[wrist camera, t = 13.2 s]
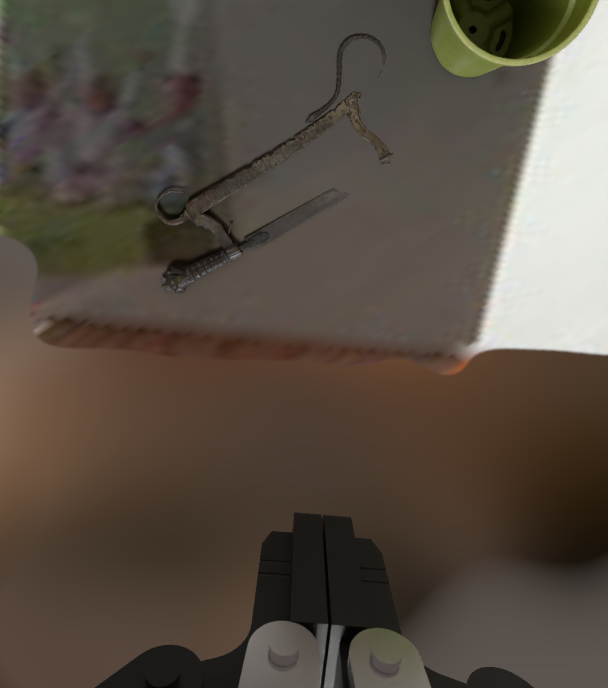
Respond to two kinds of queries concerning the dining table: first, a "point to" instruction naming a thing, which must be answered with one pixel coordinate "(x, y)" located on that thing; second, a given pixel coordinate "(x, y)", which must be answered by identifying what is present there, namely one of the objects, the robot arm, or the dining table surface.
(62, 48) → the dining table surface
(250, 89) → the dining table surface
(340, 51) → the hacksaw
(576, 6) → the plant pot
